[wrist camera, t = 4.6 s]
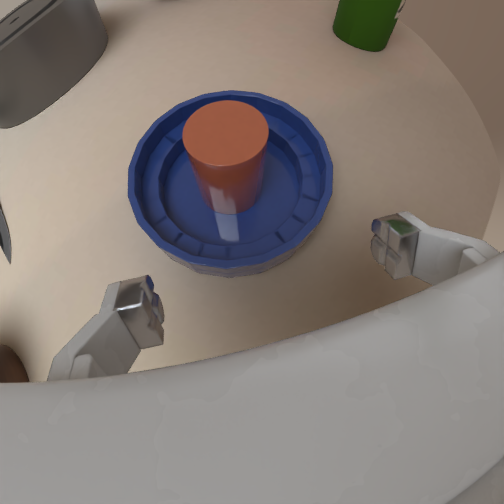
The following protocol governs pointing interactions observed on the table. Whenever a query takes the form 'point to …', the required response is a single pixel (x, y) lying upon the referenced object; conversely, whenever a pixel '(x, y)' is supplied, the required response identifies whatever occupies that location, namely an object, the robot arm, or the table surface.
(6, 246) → the knife
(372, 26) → the wine bottle
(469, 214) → the table surface
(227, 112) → the terracotta cylinder
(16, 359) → the stand
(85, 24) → the container
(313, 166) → the bowl
